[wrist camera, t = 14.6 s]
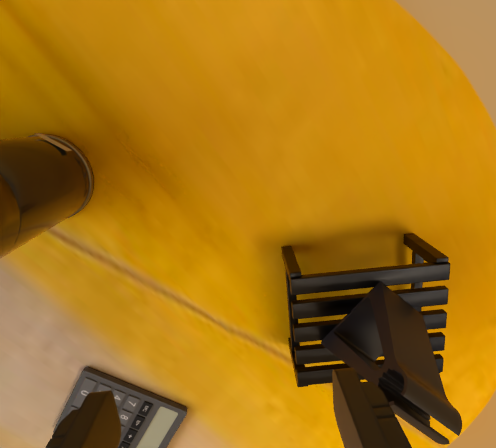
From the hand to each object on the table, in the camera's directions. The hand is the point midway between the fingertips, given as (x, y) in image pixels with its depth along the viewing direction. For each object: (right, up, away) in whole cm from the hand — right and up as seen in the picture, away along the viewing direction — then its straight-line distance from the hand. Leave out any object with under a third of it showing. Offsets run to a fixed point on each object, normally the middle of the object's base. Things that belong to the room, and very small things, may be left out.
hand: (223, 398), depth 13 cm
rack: (+14, -2, +32) cm, 35 cm away
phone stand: (+14, -4, +25) cm, 29 cm away
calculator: (-17, -21, +37) cm, 46 cm away
